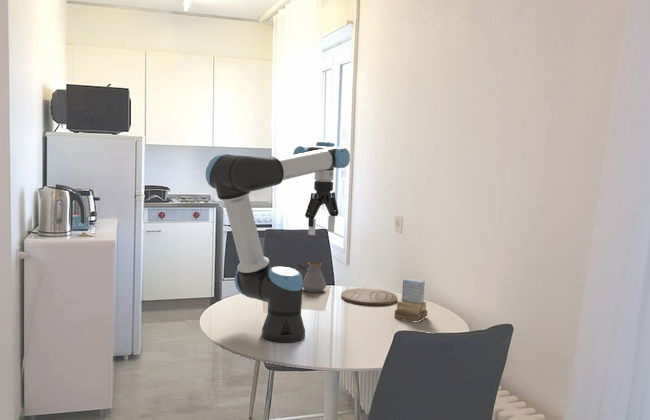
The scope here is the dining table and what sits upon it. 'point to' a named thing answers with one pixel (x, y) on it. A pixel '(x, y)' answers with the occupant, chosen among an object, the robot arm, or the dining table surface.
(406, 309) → the oak slab
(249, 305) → the dining table surface
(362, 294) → the trivet
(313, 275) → the coffee pot
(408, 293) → the medicine box
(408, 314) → the walnut slab
